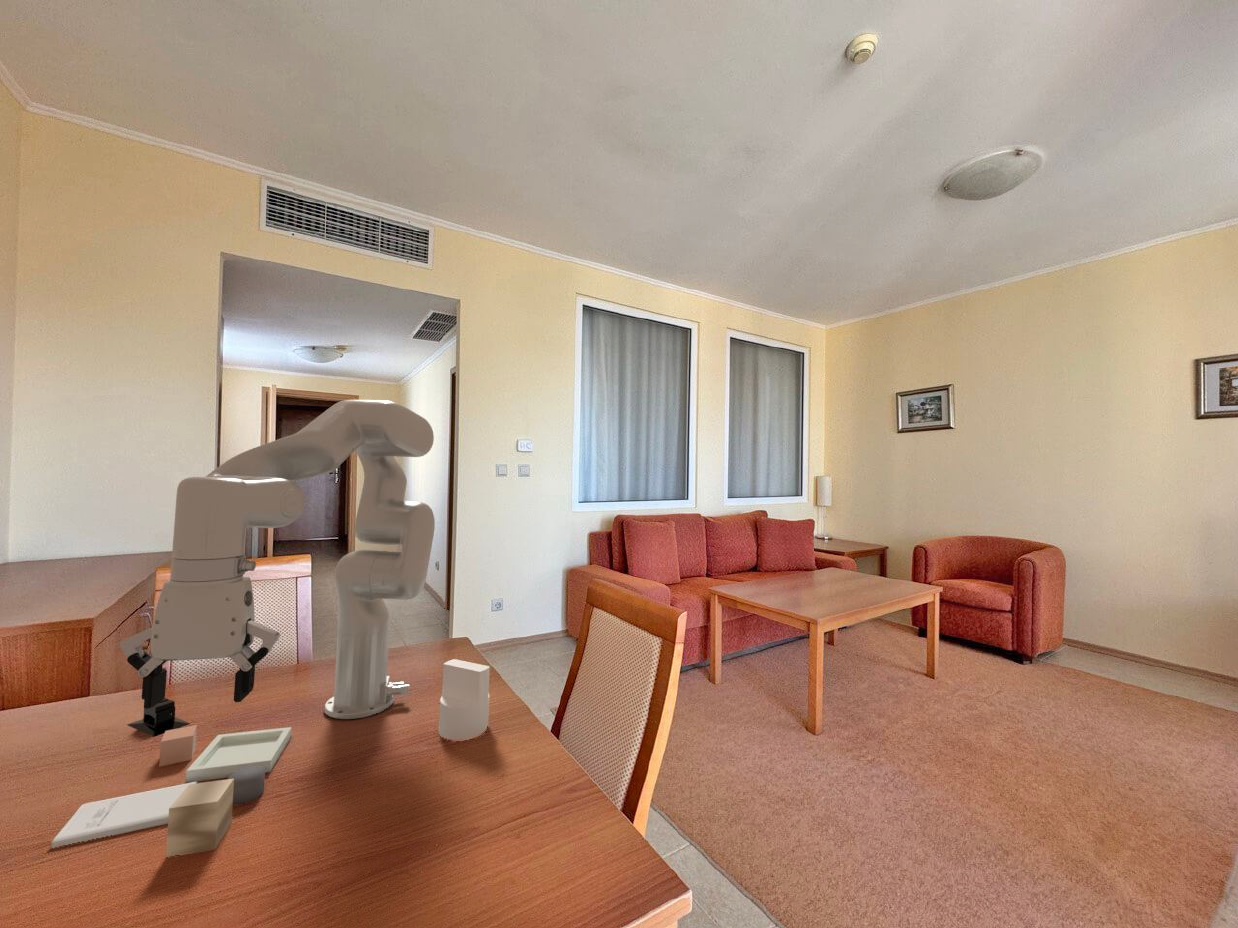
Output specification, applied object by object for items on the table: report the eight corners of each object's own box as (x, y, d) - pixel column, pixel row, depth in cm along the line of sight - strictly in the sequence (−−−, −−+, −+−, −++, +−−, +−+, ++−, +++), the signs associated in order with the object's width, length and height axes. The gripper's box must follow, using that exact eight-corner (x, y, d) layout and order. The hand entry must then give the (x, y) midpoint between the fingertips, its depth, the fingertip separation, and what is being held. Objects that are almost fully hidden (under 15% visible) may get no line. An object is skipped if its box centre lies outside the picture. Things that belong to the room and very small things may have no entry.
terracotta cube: (195, 748, 85) (196, 724, 86) (191, 760, 82) (193, 735, 82) (164, 755, 83) (165, 730, 83) (159, 767, 80) (160, 741, 80)
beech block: (231, 823, 68) (234, 778, 68) (215, 849, 63) (217, 801, 63) (186, 830, 66) (189, 784, 66) (166, 858, 61) (169, 808, 62)
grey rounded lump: (268, 783, 77) (269, 763, 77) (257, 801, 72) (259, 780, 73) (233, 788, 75) (235, 768, 75) (221, 807, 71) (222, 785, 71)
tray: (291, 737, 90) (291, 726, 90) (270, 771, 80) (271, 760, 80) (217, 745, 86) (218, 734, 86) (185, 782, 76) (186, 770, 76)
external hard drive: (179, 825, 68) (50, 853, 62) (197, 790, 75) (82, 813, 69) (180, 813, 68) (51, 840, 62) (197, 779, 75) (83, 801, 70)
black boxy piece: (200, 726, 93) (201, 701, 94) (150, 745, 87) (152, 718, 87) (163, 711, 99) (165, 688, 99) (114, 728, 92) (116, 702, 92)
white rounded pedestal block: (427, 734, 93) (431, 668, 93) (460, 714, 101) (463, 653, 101) (467, 745, 89) (470, 677, 90) (497, 723, 98) (500, 661, 98)
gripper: (292, 564, 73) (284, 685, 72) (146, 565, 68) (136, 694, 67) (272, 574, 65) (263, 707, 65) (107, 575, 61) (96, 720, 60)
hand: (198, 700), depth 66 cm, fingers open, 9 cm apart
